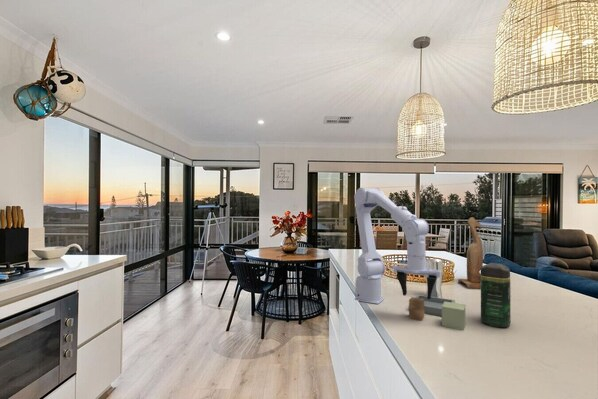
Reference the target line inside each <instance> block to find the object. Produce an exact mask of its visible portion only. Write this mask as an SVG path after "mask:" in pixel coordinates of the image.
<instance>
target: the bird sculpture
mask: <svg viewBox="0 0 598 399" xmlns="http://www.w3.org/2000/svg"><path fill="white" fill-rule="evenodd" d="M467 224H468V227H469V229H470V232H471V236H472V240H473V241H472V243H471V244H470V245H469V246H468V248H467V251H466V278H464V279H463V278H458V279H457V284H465V285H466V288H467V289H468V290H469V289H473V290H475V289H476V290H481V274H480V273H481V267H482V266H484V258H483V256H484V254H483V253H484V252H483V245H482V241H481V238H480V236H479V233H478V231H477V229H479V230H480V229H482V224H481V222H479V221H478V220H476V219H475V217H473V216H472V217H470V218H468V219H467Z"/></svg>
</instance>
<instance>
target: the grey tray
mask: <svg viewBox="0 0 598 399" xmlns="http://www.w3.org/2000/svg"><path fill="white" fill-rule="evenodd" d="M414 297H415V298H421V299H424V315H425V314H426V315H432V316H437V317H442V305H443V303H444V301H445V302H452V303H456V300H455V299H450V298H444V297H442V298H437V297H431V298H430V299H428V298H427V296H426V295H424V294H423V295H422V294H417V295H416V296H414Z"/></svg>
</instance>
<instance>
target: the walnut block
mask: <svg viewBox="0 0 598 399" xmlns="http://www.w3.org/2000/svg"><path fill="white" fill-rule="evenodd" d="M415 297H416V296H414V297H413V296H411V297H410V298H409V299H408V319H409V320H410V319H411V320H415V321H421V322H423V320H424V319H425V313H424V299H421V298H415Z"/></svg>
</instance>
